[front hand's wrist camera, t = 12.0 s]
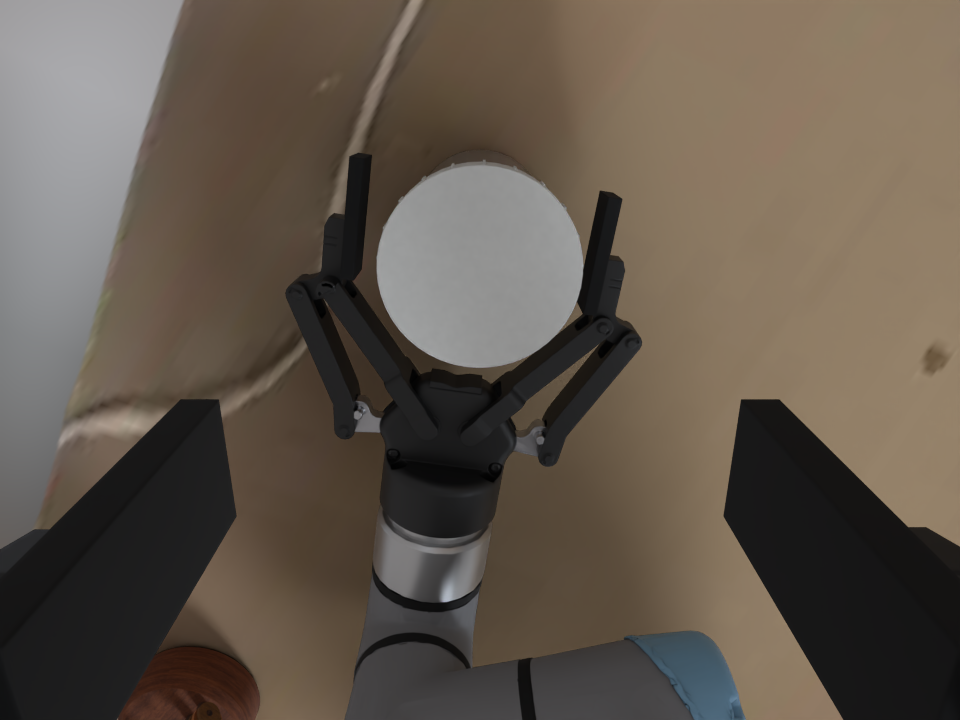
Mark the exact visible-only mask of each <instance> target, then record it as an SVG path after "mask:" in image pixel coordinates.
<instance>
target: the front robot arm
mask: <svg viewBox="0 0 960 720" xmlns="http://www.w3.org/2000/svg"><path fill="white" fill-rule="evenodd" d="M235 518H236V510H235V503H234V497H233V490H232V483H231V477H230V470H229V463H228V457H227V450H226V444H225V437H224V430H223V424H222V417H221V411H220V404H219V399H181V400H180V401H179V402H178V403H177V404H176V405H175V406H174V407H173V408H172V409H171V410H170V411H169V412H168V413H167V414H166V415H165V416H164V417H163V418H162V419H161V420H160V421H159V422H158V423H157V424H156V425H155V426H154V427H153V428H152V429H150V430H149V431H148V432H147V433H146V434H145V435H144V436H143V437H142V438H141V439H140V440H139V441H138V442H137V443H136V444H135V445H134V446H133V447H132V448H131V449H130V450H129V451H128V452H127V453H126V454H125V455H124V456H123V457H122V458H121V459H120V460H119V461H118V462H117V463H116V464H115V465H114V466H113V467H112V468H111V469H110V470H109V471H108V472H107V473H106V474H105V475H104V476H103V477H102V478H101V479H100V480H99V481H98V482H97V483H96V484H95V485H94V486H93V487H92V488H91V489H90V490H89V491H88V492H87V493H86V494H85V495H84V496H83V497H82V498H81V499H80V500H79V501H78V502H77V503H76V504H75V505H74V506H73V507H72V508H71V509H70V510H69V511H68V512H67V513H66V514H65V515H64V516H63V517H62V518H61V519H60V520H59V521H58V522H57V523H56V524H55V525H54V526H53V527H52V528H51V529H50V530H33V531H31V532H29V533H28V534H26V535H24V536H22V537H21V538H19V539H17V540H16V541H14V542H12V543H10V544H9V545H7V546H5V547H3V548H2V549H0V720H117V718H118V716H119V715H120V713H121V711H122V710H123V708H124V706H125V705H126V703H127V701H128V699H129V698H130V696H131V694H132V693H133V691H134V689H135V688H136V686H137V684H138V683H139V681H140V679H141V677H142V676H143V674H144V672H145V671H146V669H147V667H148V666H149V664H150V662H151V660H152V659H153V657H154V655H155V654H156V652H157V650H158V649H159V647H160V645H161V643H162V642H163V640H164V638H165V637H166V635H167V633H168V632H169V630H170V628H171V627H172V625H173V623H174V621H175V620H176V618H177V616H178V615H179V613H180V611H181V610H182V608H183V606H184V604H185V603H186V601H187V599H188V598H189V596H190V594H191V593H192V591H193V589H194V587H195V586H196V584H197V582H198V581H199V579H200V577H201V576H202V574H203V572H204V570H205V569H206V567H207V565H208V564H209V562H210V560H211V559H212V557H213V555H214V554H215V552H216V550H217V548H218V547H219V545H220V543H221V542H222V540H223V538H224V537H225V535H226V533H227V531H228V530H229V528H230V526H231V525H232V523H233V521H234V520H235ZM724 518H725V520H726V521H727V523H728V525H729V526H730V528H731V530H732V531H733V533H734V535H735V537H736V538H737V540H738V542H739V543H740V545H741V547H742V548H743V550H744V552H745V554H746V555H747V557H748V559H749V560H750V562H751V564H752V565H753V567H754V569H755V570H756V572H757V574H758V576H759V577H760V579H761V581H762V582H763V584H764V586H765V587H766V589H767V591H768V593H769V594H770V596H771V598H772V599H773V601H774V603H775V604H776V606H777V608H778V610H779V611H780V613H781V615H782V616H783V618H784V620H785V621H786V623H787V625H788V627H789V628H790V630H791V632H792V633H793V635H794V637H795V638H796V640H797V642H798V643H799V645H800V647H801V649H802V650H803V652H804V654H805V655H806V657H807V659H808V660H809V662H810V664H811V666H812V667H813V669H814V671H815V672H816V674H817V676H818V677H819V679H820V681H821V683H822V684H823V686H824V688H825V689H826V691H827V693H828V694H829V696H830V698H831V699H832V701H833V703H834V705H835V706H836V708H837V710H838V711H839V713H840V715H841V716H842V718H843V720H960V547H959V546H958V545H956V544H954V543H952V542H951V541H949V540H947V539H946V538H944V537H942V536H940V535H939V534H937V533H935V532H933V531H932V530H930V529H928V528H927V527H907V526H906V525H905V524H904V523H903V522H902V521H901V520H900V519H899V518H898V517H897V516H896V515H895V514H894V513H893V512H892V511H891V510H890V509H889V508H888V507H887V506H886V505H885V504H884V503H883V502H882V501H881V500H880V499H879V498H878V497H877V496H876V495H875V494H874V493H873V492H872V491H871V490H870V489H869V488H868V487H867V486H866V485H865V484H864V483H863V482H862V481H861V480H860V479H859V478H858V477H857V476H856V475H855V474H854V473H853V472H852V471H851V470H850V469H849V468H848V467H847V466H846V465H845V464H844V463H843V462H842V461H841V460H840V459H839V458H838V457H837V456H836V455H835V454H834V453H833V452H832V451H831V450H830V449H829V448H828V447H827V446H826V445H825V444H824V443H823V442H822V441H821V440H820V439H819V438H818V437H817V436H816V435H815V434H814V433H813V432H812V431H811V430H810V429H808V428H807V427H806V426H805V425H804V424H803V423H802V422H801V421H800V420H799V419H798V418H797V417H796V416H795V415H794V414H793V413H792V412H791V411H790V410H789V409H788V408H787V407H786V406H785V405H784V404H783V403H782V402H781V401H780V400H779V399H741V404H740V411H739V417H738V424H737V430H736V437H735V444H734V450H733V457H732V463H731V470H730V477H729V483H728V490H727V497H726V503H725V510H724Z"/></svg>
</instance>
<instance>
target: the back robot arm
mask: <svg viewBox="0 0 960 720" xmlns="http://www.w3.org/2000/svg"><path fill="white" fill-rule="evenodd" d="M371 160H372V155H369V154H363V153H357V154H354V155H352V156H349V169H348V182H347V194H346V207H345V215H343V214H337V213H334V214H332V215H331V216H330V217H329V218H328V220H327V222H326V224H325V227H324V242H323V243H324V244H323V256H322V268H321V272H319V273H315V274H310V275H309V274H303V275H301V276H299V277H298V278H297V279H296V280H295V281H294V282H293V283H292V284H291V285H290V286H289V287H288V288H287V290H286V298H287V301H288V303H289V305H290V307H291V310H292V312H293V314H294V316H295V319H296V321H297V323H298V326H299V328H300V330H301V332H302V335H303V337H304V339H305V341H306V344H307V346H308V348H309V351H310V353H311V355H312V357H313V360H314V362H315V364H316V366H317V369H318V371H319V373H320V376H321V378H322V380H323V382H324V385H325V387H326V389H327V391H328V394H329V396H330V398H331V401H332V403H333V408H334V430H335V434H336V435H337V436H338V437H339V438H341V439H349V438H351V437H352V436H353V435H354V432H380V433H381V435H382V437H383V439H384V442H385V456H384V465H383V473H382V482H381V491H380V503H381V505H380V507H379V511H378V516H377V525H376V534H375V543H374V552H373V565H372V578H371V585H370V592H369V598H368V605H367V612H366V619H365V625H364V630H363V635H362V639H361V644H360V648H359V653H358V657H357V662H356V667H355V671H354V685H353V689H352V693H351V697H350V701H349V704H348V708H347V712H346V716H345V720H746V719H745V716H744V714H743V711H742V708H741V705H740V701H739V695H738V692H737V689H736V686H735V683H734V680H733V678H732V675H731V672H730V670H729V668H728V665H727V663H726V661H725V659H724V657H723V655H722V653H721V651H720V649H719V648H718V646H717V645H716V644H715V643H714V641H713V640H712V639H710V638H709V637H708V636H706V635H705V634H703V633H701V632H698V631H682V632H672V633H661V634H651V635H641V636H633V635H630V636H625V637H624V640H621V641H616V642H611V643H606V644H601V645H596V646H591V647H586V648H582V649H577V650H572V651H567V652H562V653H557V654H552V655H547V656H542V657H538V658H527V659H522V660H520V659H519V660H513V661H508V662H502V663H497V664H491V665H485V666H480V667H474V668H472V647H473V631H474V624H475V617H476V610H477V604H478V597H479V590H480V586H481V583H482V577H483V574H484V571H485V565H486V560H487V554H488V549H489V543H490V537H491V532H492V525H493V524H492V519H493V517H494V515H495V511H496V505H497V500H498V495H499V489H500V484H501V479H502V473H503V468H504V464H505V461H506V459H507V458H508V456H509V455H510V454H511V453H512V452H513V451H517V452H521V453H525V454H529V455H533V456H537V457H538V459H539V462H540V463H541V464H542V465H543V466H546V467H550V466H553V465H554V464H556V462H557V461H558V458H559V455H560V453H561V450H562V447H563V444H564V441H565V438H566V436H567V435H568V434H569V433H570V432H571V430H572V429H573V428H574V427H575V426H576V424H577V423H578V422H579V421H580V420H581V418H582V417H583V416H584V415H585V414H586V412H587V411H588V410H589V409H590V408H591V406H592V405H593V404H594V403H595V402H596V401H597V399H598V398H599V397H600V396H601V395H602V393H603V392H604V391H605V390H606V389H607V387H608V386H609V385H610V384H611V383H612V381H613V380H614V379H615V378H616V377H617V375H618V374H619V373H620V372H621V371H622V369H623V368H624V367H625V366H626V365H627V364H628V362H629V361H630V360H631V359H632V358H633V356H634V355H635V354H636V353H637V352H638V350H639V349H640V347H641V346H642V340H641V338H640V336H639V335H638V333H637V332H636V330H635V329H634V327H633V326H632V325H631V324H630V323H629V322H627V321H623V320H621V319H619V318H618V317H616V315H615V313H616V307H617V303H618V299H619V294H620V290H621V286H622V281H623V277H624V273H625V268H624V262H623V261H622V260H621V259H620V257H619V256H613V255H610V253H611V248H612V244H613V239H614V235H615V230H616V226H617V221H618V217H619V212H620V208H621V203H622V198H620V197H619V196H617V195H616V194H614V193H612V192H605V191H600V193H599V197H598V202H597V207H596V212H595V217H594V221H593V226H592V231H591V236H590V240H589V245H588V250H587V255H586V259H585V264H584V269H583V277H582V284H581V289H580V292H579V296H578V299H577V303H578V305H579V307H580V309H581V311H582V313H583V314H582V315H581V316H580V317H579V318H577V319H576V320H575V321H574V322H572V323H571V324H570V325H569V326H567V327H566V328H565V329H564V330H562V331H561V332H560V333H559V334H557V335H556V336H555V337H554V338H552V339H551V340H550V341H549V342H548V343H547V344H546V345H544V346H543V347H542V348H540V349H539V350H538V351H536V352H535V353H534V354H532V355H531V356H530V357H529V358H527V359H526V360H525V361H524V362H522V363H521V364H520V365H519V366H517V367H516V368H515V369H514V370H512V371H508V372H506V373H505V374H503V375H502V376H501V377H499V378H498V379H497V380H496V381H494V382H493V383H492V384H490V383H489V382H488V381H486V380H484V379H482V375H475V374H463V375H455V374H453V373H450V372H448V371H445V370H439V369H432V372H426V373H424V374H420V373H419V372H418V370H417V369H416V367H415V366H414V364H413V363H412V362H411V360H410V359H409V358H408V357H406V356H405V355H404V354H403V353H402V351H401V350H400V348H399V347H398V346H397V344H396V343H395V341H394V340H393V339H392V337H391V336H390V334H389V333H388V331H387V330H386V329H385V327H384V326H383V324H382V323H381V321H380V320H379V319H378V317H377V316H376V314H375V313H374V311H373V310H372V309H371V307H370V306H369V304H368V303H367V301H366V300H365V299H364V297H363V296H362V294H361V293H360V291H359V290H358V289H357V287H356V286H355V284H354V283H353V281H354V279H355V278H356V276H357V275H358V274H359V272H360V271H361V269H362V259H363V248H364V237H365V226H366V215H367V204H368V193H369V182H370V171H371ZM324 299H325V301H326V302H327V303H328V305H329V306H330V307H331V309H332V310H333V312H334V313H335V314H336V316H337V317H338V319H339V320H340V321H341V323H342V324H343V325H344V327H345V328H346V330H347V331H348V332H349V334H350V335H351V337H352V338H353V339H354V341H355V342H356V343H357V345H358V346H359V348H360V349H361V350H362V352H363V353H364V355H365V356H366V357H367V359H368V360H369V361H370V363H371V364H372V366H373V367H374V368H375V370H376V371H377V372H378V374H379V375H380V377H381V378H382V380H383V381H384V384H385V387H386V390H387V391H388V393H389V394H390V395H391V397H392V398H393V401H392V402H391V403H390V404H389V405H388V406H387V407H386V408H385V410H384V411H383V412H380V411H377V410H376V409H374V407H373V406H372V403H371V401H370V399H369V398H368V397H367V396H365V395H360V387H359V383H358V380H357V377H356V375H355V372H354V370H353V368H352V365H351V363H350V360H349V358H348V356H347V353H346V351H345V348H344V346H343V344H342V341H341V339H340V337H339V334H338V332H337V329H336V327H335V325H334V322H333V320H332V317H331V315H330V313H329V310H328V308H327V306H326V303H325V301H324ZM598 344H599V345H598ZM597 345H598V347H597V348H596V349H595V350H594V352H593V353H592V354H591V355H590V357H589V358H588V359H587V360H586V361H585V363H584V364H583V365H582V366H581V368H580V369H579V370H578V371H577V373H576V374H575V375H574V376H573V377H572V379H571V380H570V381H569V382H568V384H567V385H566V386H565V387H564V388H563V390H562V391H561V392H560V393H559V395H558V396H557V397H556V398H555V400H554V401H553V402H552V403H551V405H550V406H549V407H548V409H547V410H546V412H545V414H544V416H543V418H542V420H539V419H537V420H534V421H533V422H532V423H531V424H530V425H529V427H528V428H527V429H525V430H523V431H517V430H516V427H515V425H514V423H513V421H512V419H511V418H510V417H511V416H512V415H514V414H515V413H516V412H517V411H519V410H520V409H521V408H522V407H523V406H524V404H525V402H526V401H527V400H528V399H529V398H530V397H532V396H533V395H534V394H535V393H537V392H538V391H539V390H541V389H542V388H543V387H544V386H546V385H547V384H548V383H550V382H551V381H552V380H553V379H555V378H556V377H557V376H559V375H560V374H561V373H562V372H564V371H565V370H566V369H568V368H569V367H570V366H571V365H573V364H574V363H575V362H577V361H578V360H579V359H580V358H582V357H583V356H584V355H585V354H587V353H588V352H589V351H591V350H592V349H593V348H594V347H596V346H597Z"/></svg>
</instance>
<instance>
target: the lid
mask: <svg viewBox="0 0 960 720" xmlns="http://www.w3.org/2000/svg"><path fill="white" fill-rule="evenodd" d="M398 202H399V204H398V205H397V206H396V208H395V209H394V211H393V212H392V214H391V215H390V217H389V219H388V221H387V222H386V224H385V225H384V226H383V228H382V229H384V230H383V232H382V236H381V239H380V242H379V247H378V253H377V256H376V259H377V280H378V286H379V290H380V294H381V297H382V300H383V303H384V305H385V308H386V310H387V312H388V313H389V315H390V317H391V319H392V320H393V322H394V323H395V325H396V326H397V327H398V329H399V330H400V331H401V332H402V333H403V334H404V336H405V337H406V338H407V339H408V340H409V341H411V342H412V343H413V344H414V345H415V346H417V347H418V348H419V349H421V350H422V351H424V352H425V353H427V354H429V355H431V356H433V357H435V358H437V359H439V360H441V361H444V362H447V363H450V364H454V365H459V366H463V367H473V368H486V367H495V366H502V365H506V364H509V363H513V362H516V361H518V360H520V359H523V358H525V357H527V356H529V355H531V354H532V353H534V352H536V351H538V350H539V349H540V348H542V347H543V346H544V345H546V344H547V343H548V342H549V341H550V340H551V339H552V338H553V337H554V336H555V335H556V334H557V333H558V332H559V331H560V329H561V328H562V327H563V326H564V324H565V323H566V321H567V320H568V318H569V316H570V315H571V313H572V311H573V309H574V307H575V304H576V302H577V299H578V296H579V292H580V289H581V284H582V277H583V267H584V265H583V257H582V248H581V244H580V240H579V237H580V236H579V234H578V232H577V231H576V229H575V226H574V224H573V221H572V220H571V218H570V216H569V215H568V213H567V211H566V209H567V208H566V206H565V205H564V204H563V203H560V202H559V201H558V199H557V198H556V197H555V196H554V194H553V193H552V192H551V191H550V190H549V189H547V188H546V187H545V184H544V182H543V181H540V182H539V181H538V180H536V179H535V178H534V177H532V176H530V175H528V174H527V173H525V172H523V171H521V170H518V169H517V167H516V166H513V167H510V166H507V165H503V164H499V163H492V162H486V161H485V160H483V162H467V163H461V164H456V165H455V164H454V163H452V164H451V166H450V167H447V168H443V169H441V170H439V171H437V172H435V173H433V174H431V175H429V176H428V177H426V176H424V177H423V178H422V181H420V182H419V183H418V184H417V185H415V186H414V187H413V188H412V189H411V190H410V191H409V192H408V193H407V194H406V195H405V197H403V196H402V197H401V198H400V199H399V201H398Z"/></svg>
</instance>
